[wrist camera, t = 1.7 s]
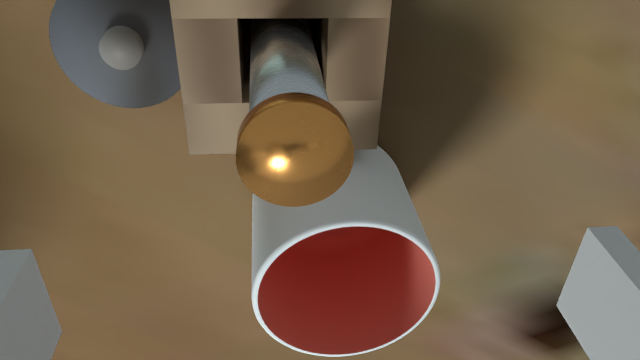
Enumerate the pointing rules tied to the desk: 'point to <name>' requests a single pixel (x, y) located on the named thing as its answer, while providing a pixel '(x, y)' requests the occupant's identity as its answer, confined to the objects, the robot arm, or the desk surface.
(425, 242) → the cup
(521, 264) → the desk surface
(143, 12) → the block
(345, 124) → the lock pin
